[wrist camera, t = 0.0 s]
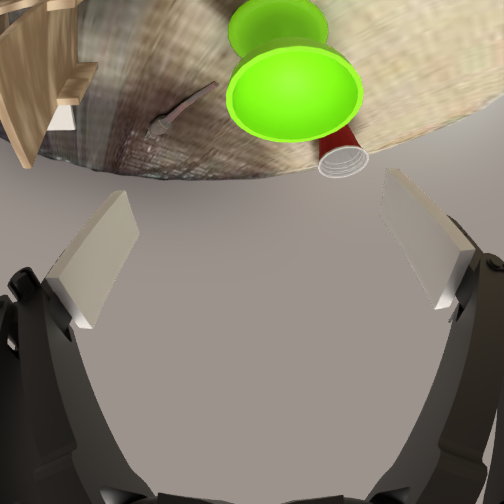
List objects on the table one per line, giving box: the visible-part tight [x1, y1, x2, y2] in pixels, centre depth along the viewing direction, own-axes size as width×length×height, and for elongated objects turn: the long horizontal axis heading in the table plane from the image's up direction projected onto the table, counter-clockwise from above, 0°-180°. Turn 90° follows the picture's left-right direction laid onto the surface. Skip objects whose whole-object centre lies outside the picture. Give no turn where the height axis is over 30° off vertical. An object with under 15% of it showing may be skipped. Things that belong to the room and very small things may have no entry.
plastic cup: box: [318, 124, 369, 178], centre depth 53 cm, size 11×11×12 cm
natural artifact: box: [145, 81, 218, 140], centre depth 49 cm, size 4×23×4 cm
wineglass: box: [226, 0, 364, 143], centre depth 31 cm, size 16×16×18 cm
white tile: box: [47, 105, 76, 130], centre depth 39 cm, size 14×14×1 cm
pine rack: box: [0, 0, 98, 168], centre depth 19 cm, size 24×20×22 cm
